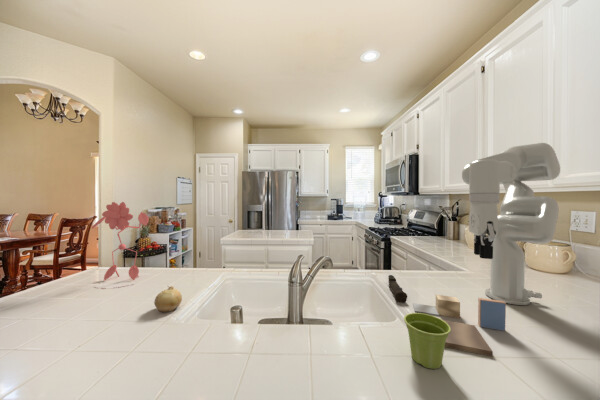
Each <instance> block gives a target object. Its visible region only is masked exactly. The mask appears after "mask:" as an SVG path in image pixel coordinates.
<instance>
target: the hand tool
mask: <svg viewBox="0 0 600 400" xmlns="http://www.w3.org/2000/svg"><path fill="white" fill-rule="evenodd" d="M387 279H388V287H389V289H391V291H392V293H393V295H394V297H395V299H394V300H395V301H396V302H397V303H406V302H407V300H408V294H407V293H406V292H404V291H403V288H402V287H400V284H398V282H397V279H396V277H395V276H394V275H391V274H389V275H388V277H387Z"/></svg>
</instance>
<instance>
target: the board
mask: <svg viewBox="0 0 600 400" xmlns="http://www.w3.org/2000/svg"><path fill="white" fill-rule="evenodd" d="M442 320H443V321H445V322H446V323H447V324H448V325H449V326H450V328H451V331H450V333H449V334H448V337H447V339H446V341H445V347H444V348H449V349H454V350H460V351H464V352H469V353H474V354H479V355H483V356H489V357H493V356H494V355H493V354H494V351H493V350H492V348H491V347H490V345H489V344H488V342H487V341H486V340H485V338H484V337H483V336H482V334H481V333H480V331H479V330H478V328H477V327H476V326H475V325H474V324H468V323H462V322H457V321H451V320H445V319H442Z"/></svg>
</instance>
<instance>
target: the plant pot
mask: <svg viewBox="0 0 600 400" xmlns="http://www.w3.org/2000/svg"><path fill="white" fill-rule="evenodd" d="M443 320H444V319H441V318H440V317H438V316H435V315H429V314H423V313H417V312H411V313H407V314H405V315H404V317H403V321H404V323H405V324H406V329H407V332H408V337H409V338H408V339H409V345H410V355H411V358H412V359H413V361H414V362H415V363H416V364H420V365H421V366H423V367H424V368H427V369H431V370H433V369H435V370H436V369H439V368H440V367H441V366H442V364H443V359H444V353H445V352H444V351H445V348H446V347H445V341H446V339H447V337H448V334H449V333H450V331H451V328H450V326H449V325H448V324H447V323H446V322H445V321H446V320H445V321H443Z"/></svg>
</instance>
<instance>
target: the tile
mask: <svg viewBox="0 0 600 400" xmlns="http://www.w3.org/2000/svg"><path fill="white" fill-rule="evenodd" d="M477 301H478V305H477V309H478V311H477V314H478V315H477V325H478V326H479V327H480V328H485V329H491V330H497V331H503V332H506V319H507V318H506V311H507V310H506V309H507V306H506V305H507V303H505V302H504V301H499V300H495V299H492V298H483V297H478V300H477Z"/></svg>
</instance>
